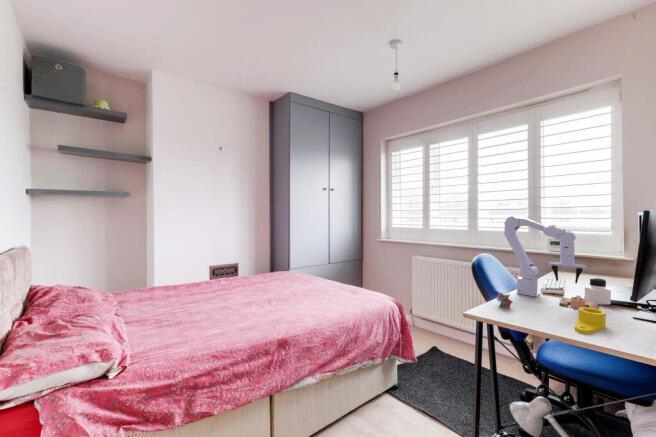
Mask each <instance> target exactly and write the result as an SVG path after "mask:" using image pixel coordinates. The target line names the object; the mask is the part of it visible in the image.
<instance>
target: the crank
mask: <svg viewBox="0 0 656 437" xmlns="http://www.w3.org/2000/svg"><path fill="white" fill-rule="evenodd" d="M606 320H607V312H605V311H604V310H602V309H599V308H598V309H594V308H589V307H581V308H579V309H578V318H577V321H576V322H575V325H574V332H576V331H577V333H579V334H583V335H584V334H585V335H591V334H593V333H596V332H598V331H601V330H603V329H604V330H605V329H606V327H607V326H606V324H607V323H606V322H607V321H606Z"/></svg>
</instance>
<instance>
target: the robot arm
mask: <svg viewBox="0 0 656 437" xmlns="http://www.w3.org/2000/svg"><path fill="white" fill-rule="evenodd" d="M503 223H504V232H503V234H504V236H505V238H506V241H507V242H508V244H509V245H510V247H511V249H512V251H513V253H514V255H515V258H516V259H517V261H518V263H519V269H520V274H521V276H518V277H517V280H516V295H525V296H531V297H535V298H537V297H539V295H540V292H538V290H539V289H538V286H539V284H538V283H539V281H538V280H539V278H538V276H537V275H538V274H539V273H540V270H539V268H538V267H537V266H536V265H535V264H534V262H533V261H532V260H530V258H529V256H528V254H527V252H526V250H525V249H524V247H523V245H522V243H521V241H520V240H519V238H518V235H517V231H518V230H519V228H521V227H529V228H532V229H535V230H537V231H541V232H543V234H544V235H545V236H547V237H550V238H552V239H555V240H557V241H558V240H559V241H560V248H559V262H554V261H553V262H552V261H549V262H548V266H549V267H551V269H552V271H553V274H554V276H555V277H554V278H555V281H557V282H559V268H567V269H568V268H569V269H575V282H574V283H575V284H578V280H579V277H580V275H581V274H582V272H583V270H585V271H586V264H578V263H575V240H576V236H577V235H576V234H575V233H574V232H572V231H570V230H569V231H567V229H565V228H563V229H562V228H560V227H557V226H556V225H554V224H552V225H550V224H549V225H544V224H542V223H539V222H537V221H535V220H531V219H529V218H526V217H522V216H519V215H515V216H513V215H511V216H508V217H507V218H506V220H505V221H504V222H503Z"/></svg>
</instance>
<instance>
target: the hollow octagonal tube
mask: <svg viewBox="0 0 656 437" xmlns="http://www.w3.org/2000/svg"><path fill="white" fill-rule="evenodd" d="M570 299H571V305H570V307H571V308H574V309H578V310H579V308H581V307H585V301H586V300H585V298H583V297H581V300H576V296H571V297H570Z"/></svg>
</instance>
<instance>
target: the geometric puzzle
mask: <svg viewBox="0 0 656 437" xmlns="http://www.w3.org/2000/svg"><path fill="white" fill-rule="evenodd" d="M510 297H511V294H504V293H502V292H499V293H498V295H497V298H496V301H497V302H500V303H499V305H498V307H500V308H502V307H505V308H506V309H510V308H511V305H512V304H513V303H514V301H513V299H512V298H511V299H509V298H510Z"/></svg>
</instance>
